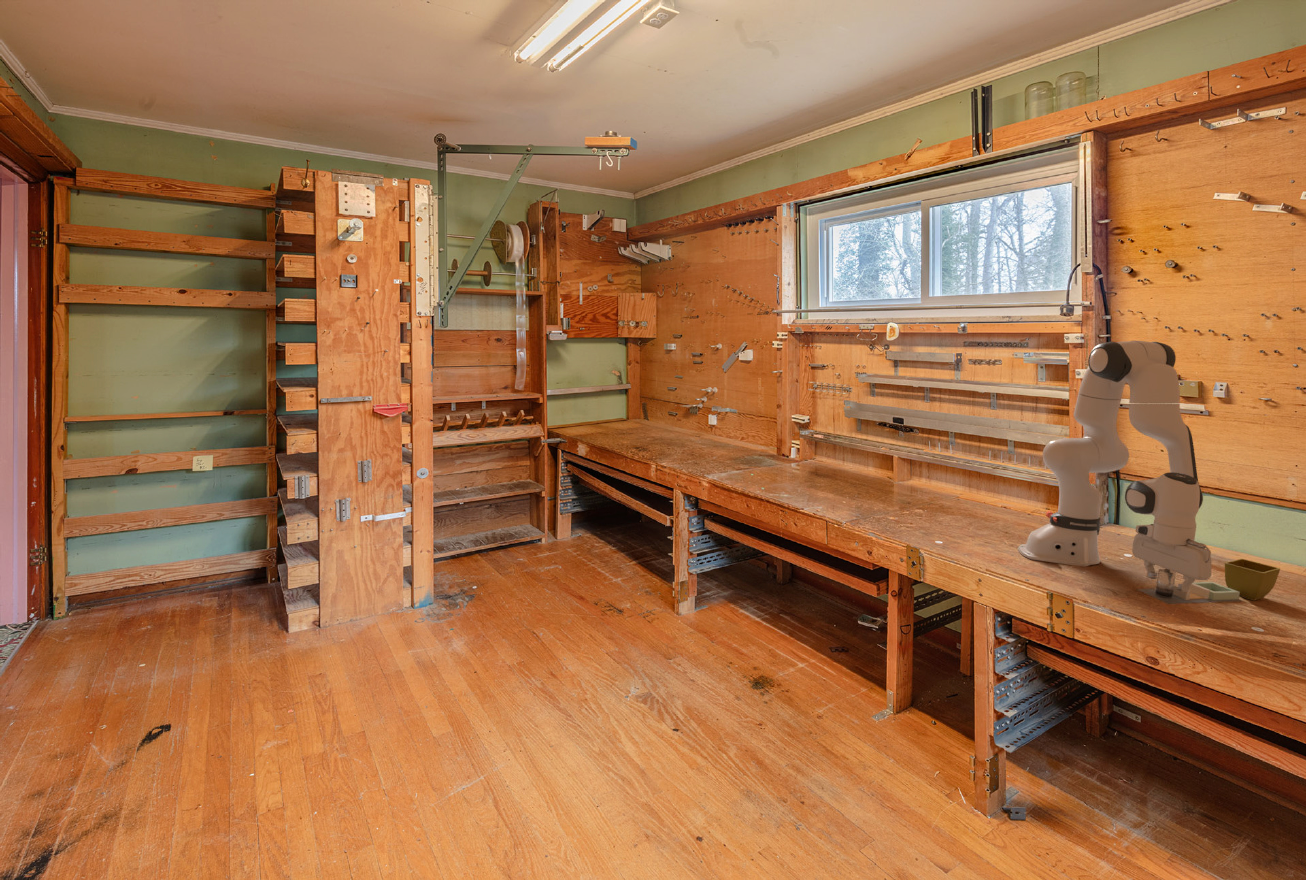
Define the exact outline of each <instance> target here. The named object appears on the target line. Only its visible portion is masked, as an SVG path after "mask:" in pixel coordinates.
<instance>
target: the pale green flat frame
mask: <svg viewBox="0 0 1306 880" xmlns="http://www.w3.org/2000/svg"><path fill="white" fill-rule="evenodd" d="M1193 584H1196V585H1198V586H1201V587H1203V588H1206V589H1208V590H1210V594H1209V599H1212V600H1232V599H1239V600H1240V596H1239V594H1240V592H1238V591H1236V590H1233V589H1230V588H1228V587H1227V586H1224V585H1223V584H1220V583H1217V582H1214V581H1194V582H1193ZM1212 590H1213V591H1212Z"/></svg>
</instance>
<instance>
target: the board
mask: <svg viewBox="0 0 1306 880" xmlns="http://www.w3.org/2000/svg"><path fill="white" fill-rule="evenodd" d="M1136 591H1138V592H1141V593H1144V594H1145V595H1148V596H1149V597H1152V598H1153V599H1154V598H1155V599H1157V600H1158V601H1162V602H1163V603H1166V604H1167V605H1176V604H1177V605H1179V604H1203V603H1206V604H1207V603H1229V602H1231V603H1232V602H1234V603H1235V602H1243V600H1241V599H1240V598H1239V599H1232V600H1212V599H1189V600H1185V599H1183V598H1180V597H1178V596H1176V595H1173V596H1172V598H1170V599H1168V598H1162V597H1159V596H1156V595H1155V592H1156V588H1142V589H1141V588H1140V589H1139V588H1137V589H1136ZM1212 591H1213V590H1212Z"/></svg>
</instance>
